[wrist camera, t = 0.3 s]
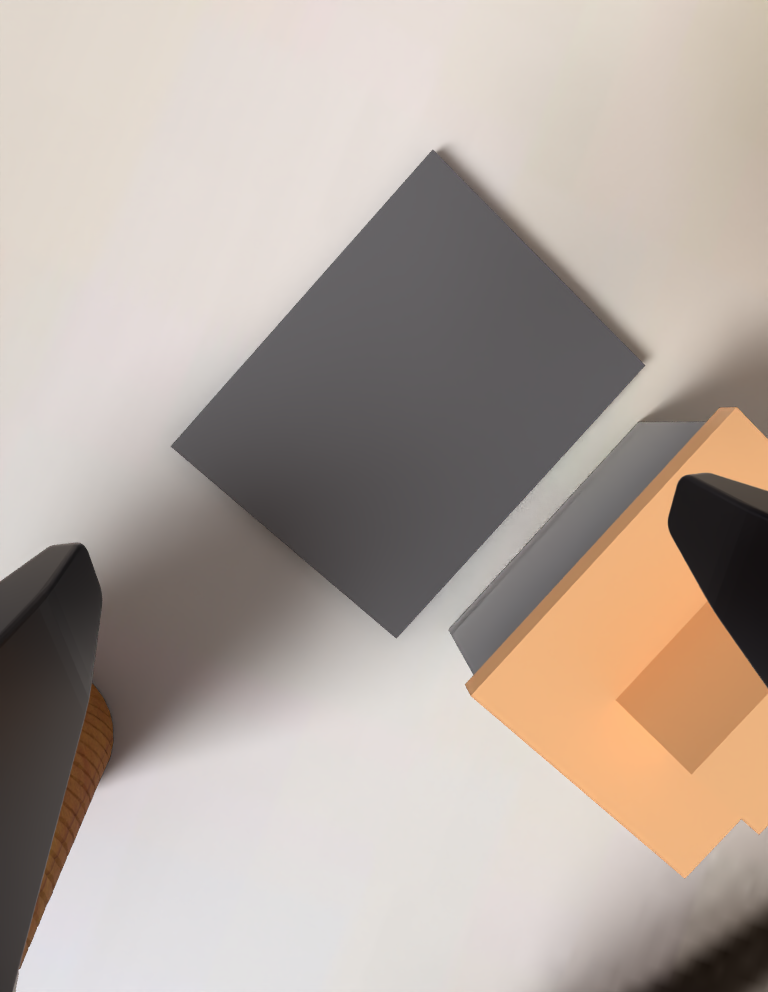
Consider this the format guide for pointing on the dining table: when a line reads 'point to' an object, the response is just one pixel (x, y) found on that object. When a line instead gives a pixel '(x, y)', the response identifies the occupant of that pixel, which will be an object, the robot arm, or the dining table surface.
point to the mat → (410, 398)
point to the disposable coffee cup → (76, 798)
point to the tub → (567, 537)
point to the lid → (645, 673)
